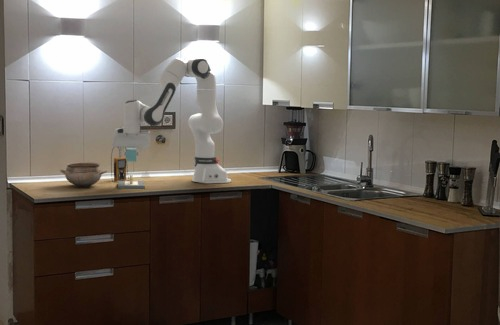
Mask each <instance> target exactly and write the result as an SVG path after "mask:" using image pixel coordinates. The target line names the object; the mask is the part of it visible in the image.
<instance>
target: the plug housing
mask: <svg viewBox="0 0 500 325" xmlns="http://www.w3.org/2000/svg"><path fill="white" fill-rule="evenodd" d="M125 152H126V156H125V158H126V161H127V162H135V163H136V162H137V156H136V152H137V147H126V148H125Z"/></svg>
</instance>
